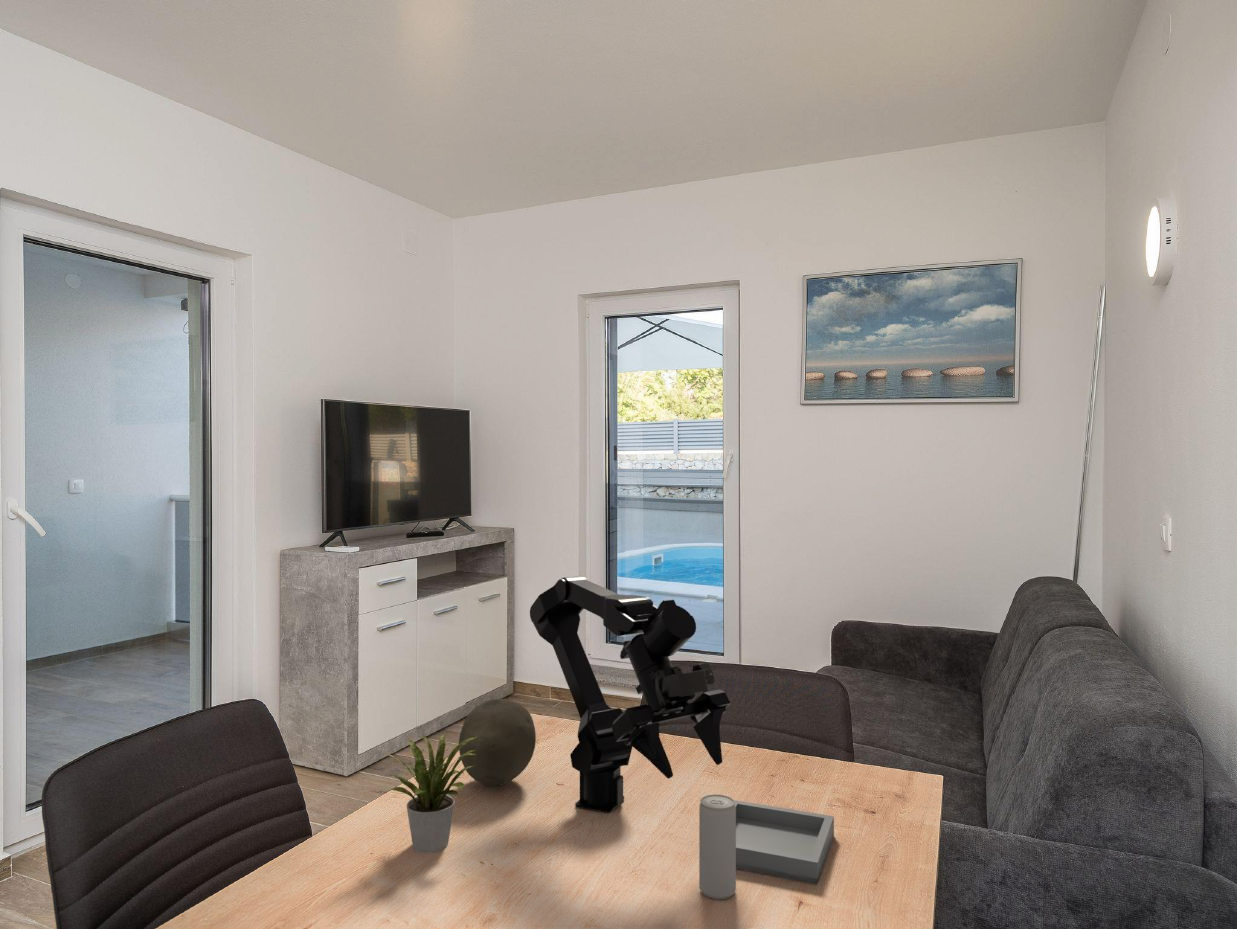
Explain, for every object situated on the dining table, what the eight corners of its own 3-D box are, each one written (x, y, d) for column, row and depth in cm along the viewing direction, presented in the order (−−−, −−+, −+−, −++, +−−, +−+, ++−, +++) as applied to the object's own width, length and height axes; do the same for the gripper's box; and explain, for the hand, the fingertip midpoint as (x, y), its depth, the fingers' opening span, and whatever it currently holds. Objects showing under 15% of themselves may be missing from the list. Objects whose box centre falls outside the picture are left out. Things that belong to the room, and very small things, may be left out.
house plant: (504, 831, 124) (504, 726, 124) (457, 873, 111) (458, 755, 111) (424, 818, 129) (425, 716, 129) (370, 857, 115) (371, 743, 116)
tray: (703, 862, 114) (703, 841, 114) (732, 818, 129) (732, 799, 129) (817, 885, 108) (817, 862, 108) (833, 835, 123) (833, 816, 123)
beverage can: (734, 903, 103) (734, 810, 104) (697, 899, 104) (697, 806, 104) (736, 884, 108) (736, 795, 108) (701, 880, 109) (701, 792, 109)
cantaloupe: (440, 787, 142) (441, 702, 142) (501, 765, 152) (501, 686, 153) (492, 808, 132) (493, 717, 133) (553, 784, 143) (554, 699, 143)
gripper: (629, 653, 112) (672, 761, 104) (727, 638, 123) (774, 734, 115) (594, 689, 119) (633, 793, 111) (690, 672, 130) (732, 765, 122)
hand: (695, 770), depth 114 cm, fingers open, 9 cm apart
